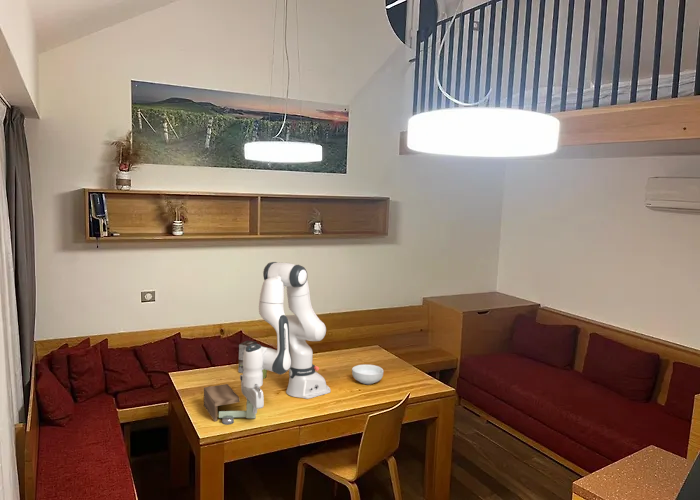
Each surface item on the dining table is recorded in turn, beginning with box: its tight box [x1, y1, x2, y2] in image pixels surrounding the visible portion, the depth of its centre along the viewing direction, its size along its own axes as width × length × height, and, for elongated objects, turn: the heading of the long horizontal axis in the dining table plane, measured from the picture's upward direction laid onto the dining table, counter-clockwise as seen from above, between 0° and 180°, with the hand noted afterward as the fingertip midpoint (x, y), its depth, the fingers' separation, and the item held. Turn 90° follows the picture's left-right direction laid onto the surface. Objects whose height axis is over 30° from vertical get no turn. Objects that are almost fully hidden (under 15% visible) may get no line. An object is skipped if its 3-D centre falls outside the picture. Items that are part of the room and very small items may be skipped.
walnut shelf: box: [203, 383, 241, 422], centre depth 253 cm, size 11×18×9 cm, turn 30°
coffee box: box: [238, 340, 258, 374], centre depth 306 cm, size 9×6×16 cm
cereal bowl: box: [351, 364, 384, 385], centre depth 298 cm, size 17×17×7 cm
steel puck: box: [221, 415, 235, 426], centre depth 243 cm, size 5×5×2 cm
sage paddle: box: [218, 399, 257, 419], centre depth 247 cm, size 16×4×7 cm, turn 103°
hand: (252, 410), depth 248 cm, fingers closed on sage paddle, 5 cm apart
